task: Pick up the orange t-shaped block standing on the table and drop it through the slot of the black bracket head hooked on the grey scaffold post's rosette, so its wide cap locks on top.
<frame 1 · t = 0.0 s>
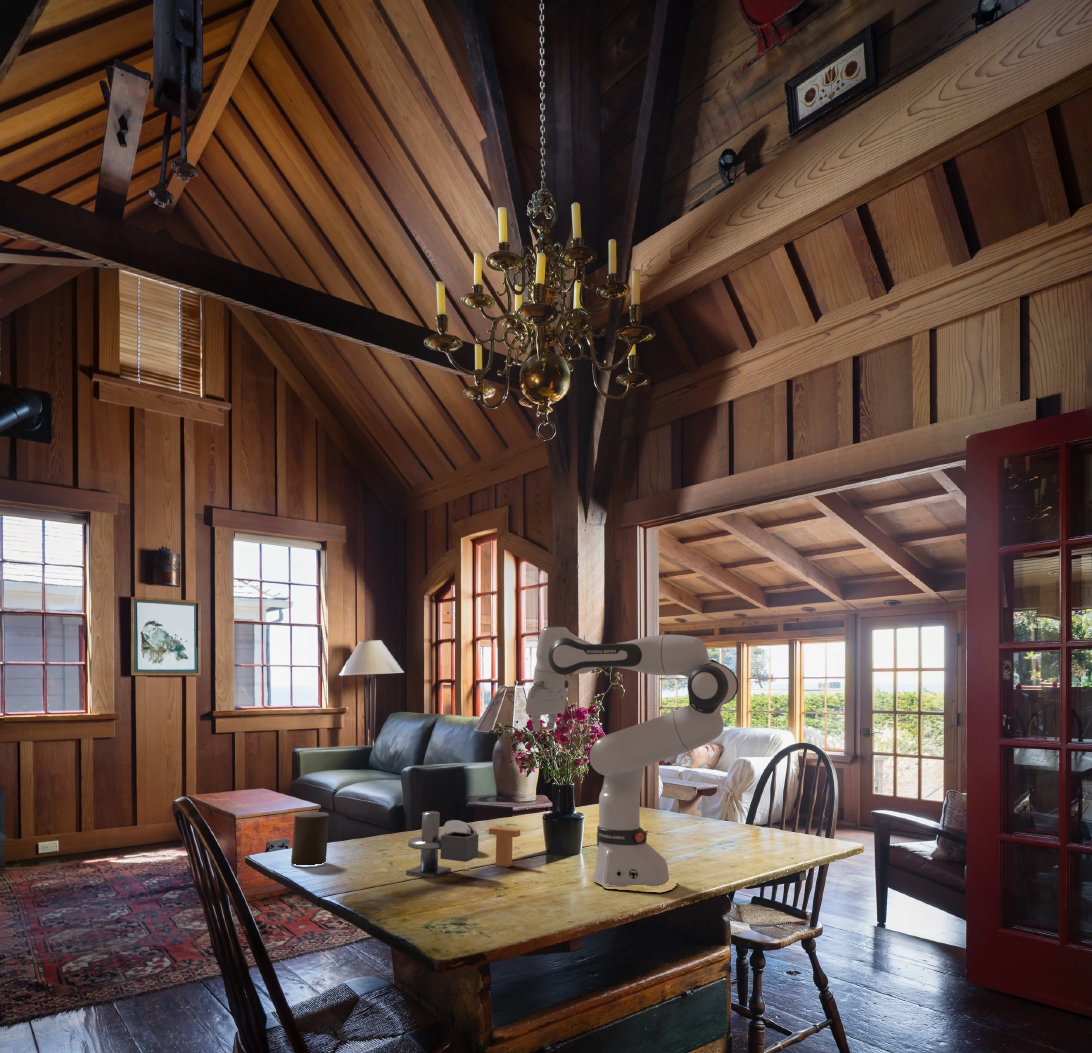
hand: (543, 730, 240), 39 cm above the table, tool pointing down, fingers open, 8 cm apart
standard: (428, 873, 231), on the table
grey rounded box: (455, 852, 259), on the table
orange t-shaped block: (503, 865, 241), on the table
pillar candle: (308, 864, 239), on the table
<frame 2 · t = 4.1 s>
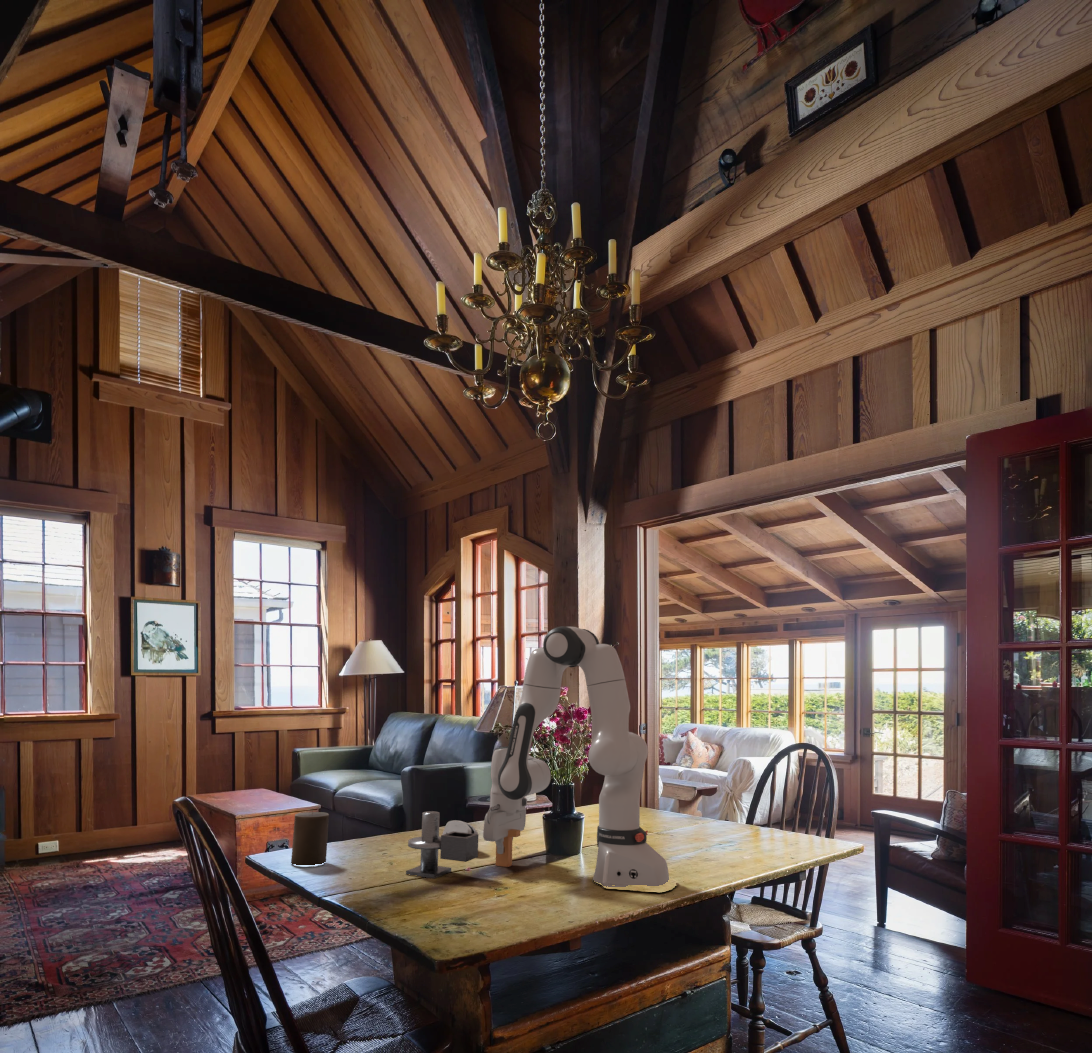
hand: (504, 852, 242), 4 cm above the table, tool pointing down, fingers closed on orange t-shaped block, 2 cm apart
orange t-shaped block: (503, 865, 241), on the table, touching gripper
everything else where it was.
when the fingers open (17 cm above the table, at t = 8.3 s): orange t-shaped block drops 10 cm, resting on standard.
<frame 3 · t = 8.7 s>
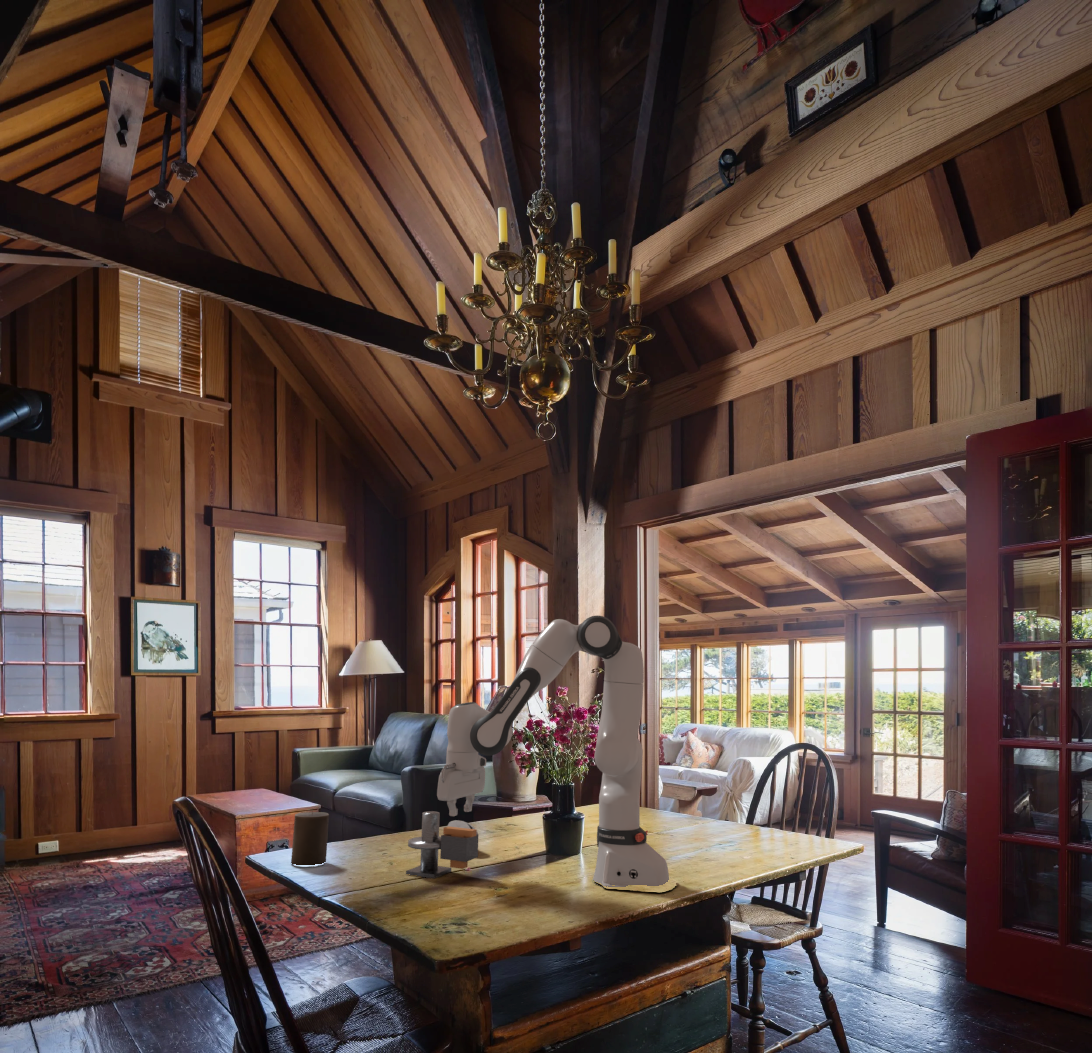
hand: (460, 813, 230), 17 cm above the table, tool pointing down, fingers open, 6 cm apart
orange t-shaped block: (458, 867, 227), point 3 cm above the table, touching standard
everything else where it was.
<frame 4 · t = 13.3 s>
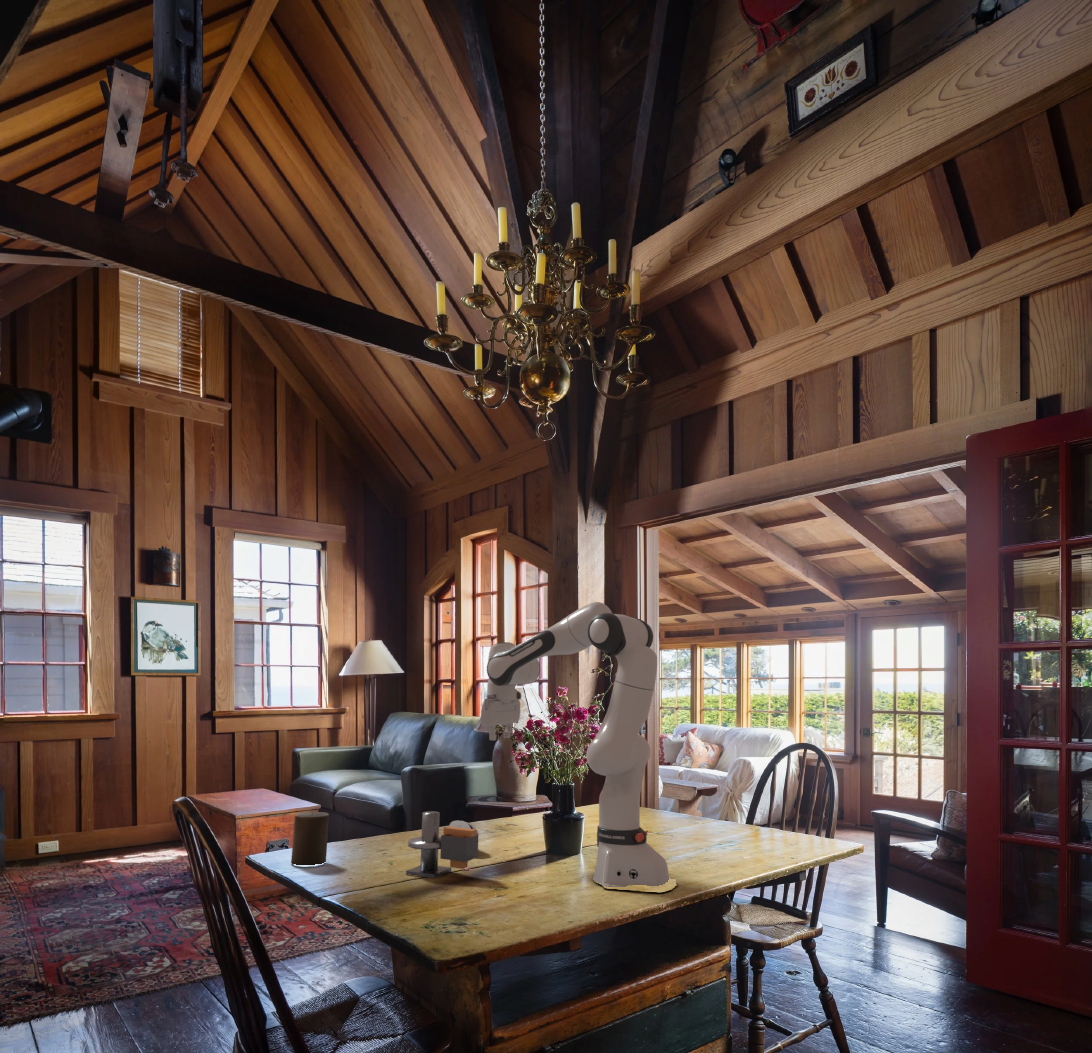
hand: (499, 739, 262), 34 cm above the table, tool pointing down, fingers open, 8 cm apart
at the end: orange t-shaped block 0.1 cm from the target spot on the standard, point 2.6 cm above the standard's base; orange t-shaped block tilted 0°; the gripper is holding nothing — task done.
